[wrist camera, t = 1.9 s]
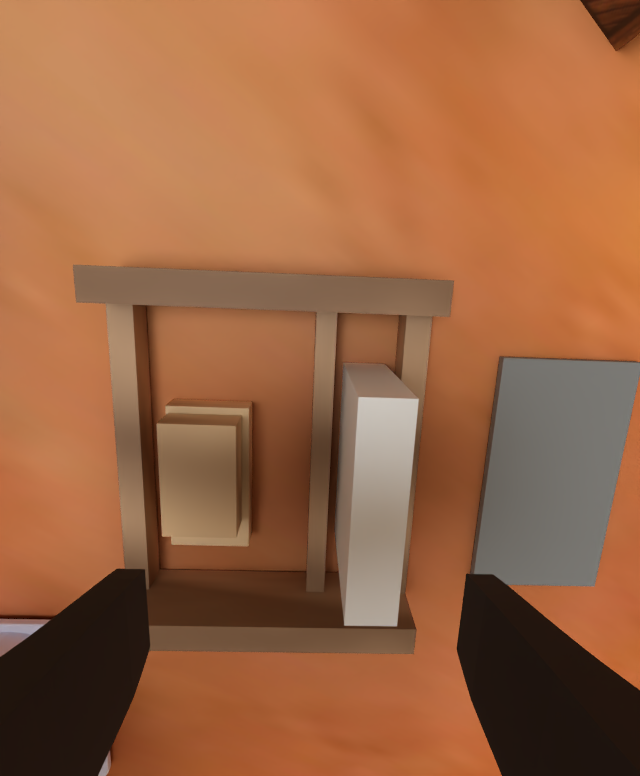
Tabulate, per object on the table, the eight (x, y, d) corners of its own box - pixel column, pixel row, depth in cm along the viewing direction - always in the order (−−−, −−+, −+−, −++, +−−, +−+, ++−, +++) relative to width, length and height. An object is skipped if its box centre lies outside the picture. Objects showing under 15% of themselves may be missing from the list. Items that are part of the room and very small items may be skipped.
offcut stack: (252, 529, 21) (244, 566, 18) (180, 527, 20) (160, 564, 18) (253, 399, 19) (243, 418, 16) (175, 397, 19) (153, 415, 16)
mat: (589, 580, 21) (594, 586, 21) (469, 578, 21) (472, 584, 21) (635, 361, 19) (642, 362, 18) (499, 356, 19) (504, 358, 18)
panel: (371, 529, 20) (397, 626, 15) (334, 528, 20) (344, 625, 15) (384, 363, 19) (418, 398, 13) (342, 362, 19) (358, 396, 13)
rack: (396, 595, 21) (413, 653, 18) (139, 590, 21) (106, 650, 17) (426, 281, 18) (454, 280, 14) (119, 268, 17) (72, 264, 14)
